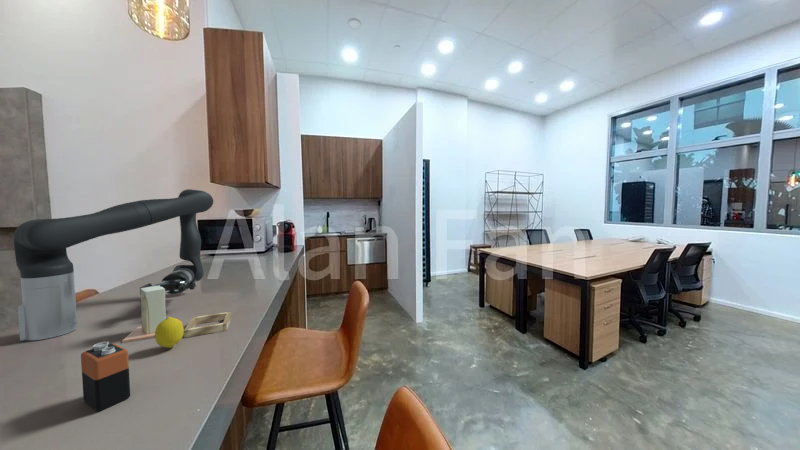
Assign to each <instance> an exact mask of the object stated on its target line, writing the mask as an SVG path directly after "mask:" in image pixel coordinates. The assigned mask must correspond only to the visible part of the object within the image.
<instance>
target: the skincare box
mask: <svg viewBox="0 0 800 450" xmlns="http://www.w3.org/2000/svg"><path fill="white" fill-rule="evenodd" d="M140 303H141V304H140V305H141V307H140V308H141V326H142V329H143V331H144V332H145V333H146V334H150V333H154V332H155V331H156V328H157V326H158V324H159V323H160V322H162V321H163V320H165V319H167V317H166V313H167V312H166V292H165V288H163V287H161V286H160V285H158V286H153V285H152V287H146V288H141V295H140Z"/></svg>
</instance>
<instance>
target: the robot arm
mask: <svg viewBox="0 0 800 450" xmlns="http://www.w3.org/2000/svg"><path fill="white" fill-rule="evenodd" d="M178 194H179V195H178V197H173V198H172V197H171V198H154V199H153V198H152V199H142V200H135V201H131V202H126V203H121V204H117V205H114V206H111V207H108V208H104V209H103V210H100V211H97V212H93V213H88V214H84V215H82V214H81V215H76V216H70V217H61V218H37V219H31V220H27V221H25V222H23V223H21V224H20V225H19V226H17V228H16V229H15V231H14V234H13V248H14V257H15V263H16V266H17V269H18V270H19V273H20V284H21V285H20V287H21V299H22V301H21V302H22V304H21V305H18V307H17V319H18V334H19V341H20V342H23V341H38V340H39V341H40V340H47V339H51V338H55V337H59V336H62V335H63V336H64V335H66V334H68V333H69V334H70V333H72V332H74V331H76V330H78V318H77V302H76V288H75V286H76V285H75V273H74V263H73V262H72V261H71V259H70V258H69V257H68V253H67V249H68V248H70V247H73V246H76V245H78V244H81V243H82V244H83V243H84V242H87V241H90V240H93V239H97V238H99V237H103V236H108V235H114V234H118V233H123V232H128V231H133V230H137V229H140V228H145V227H148V226H151V225H154V224H158V223H161V222H165V221H169V220H172V219H175V218H178V217H179V226H180V243H179V247H180V248H179V258H180V260H183V261H188V262H191V263H192V264H179V265H176V266H175V267H174V268H173V271H172V272H171V273H169V274H167V275H165V276H164V277H163V278H162V280H161V282H157V283H156V282H155V283H153V284H152V283H149V282H148V283H146V284H144V285H143V286H141V287H139V294H140V296H141V288H146V287H152V286H158V285H160V286H161V287H163V288H165V294H170V295H176V294H182V293H183V292H186V291H188V290H191V291H193V290H195V289H196V287H197V282H199V281H201V280H202V279H203V277H204V274H205V273H204V267H203V264H202V260H201V259H202V258H201V248H202V236H201V234H200V231H199V228H198V225H197V223H198V222H197V214H199V213H205V212H207V211H209V210H210V209H211V208H212V207H213V204H214V198H213V196H212V195H211V194H210V193H209V192H206V191H203V190H199V189H191V188H190V189H189V188H188V189H184V190H182V191H181V192H179V193H178Z"/></svg>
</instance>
